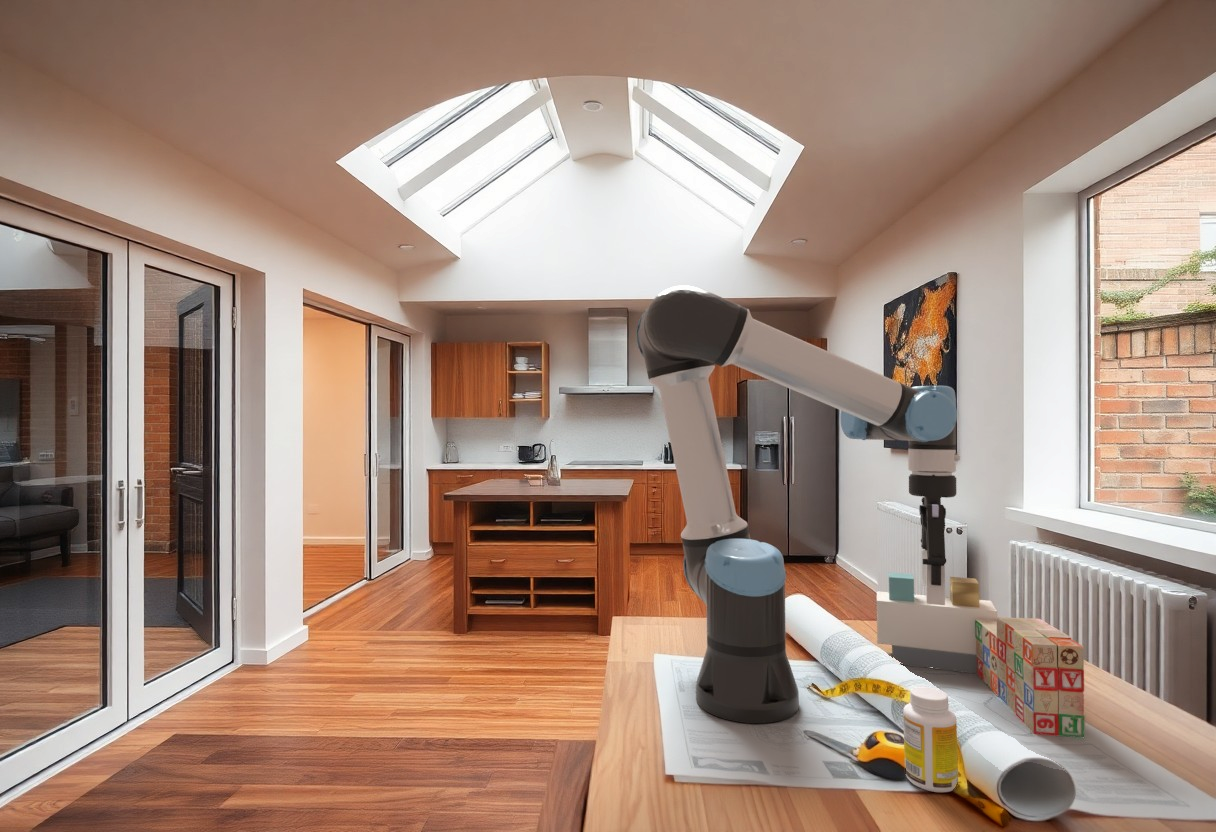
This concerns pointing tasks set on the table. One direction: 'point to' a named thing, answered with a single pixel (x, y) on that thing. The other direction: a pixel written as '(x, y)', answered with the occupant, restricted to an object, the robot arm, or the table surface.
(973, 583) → the golden brown cube
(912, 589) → the teal cube
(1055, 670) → the stack of blocks
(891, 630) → the off-white rectangular block
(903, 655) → the block
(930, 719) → the supplement bottle
